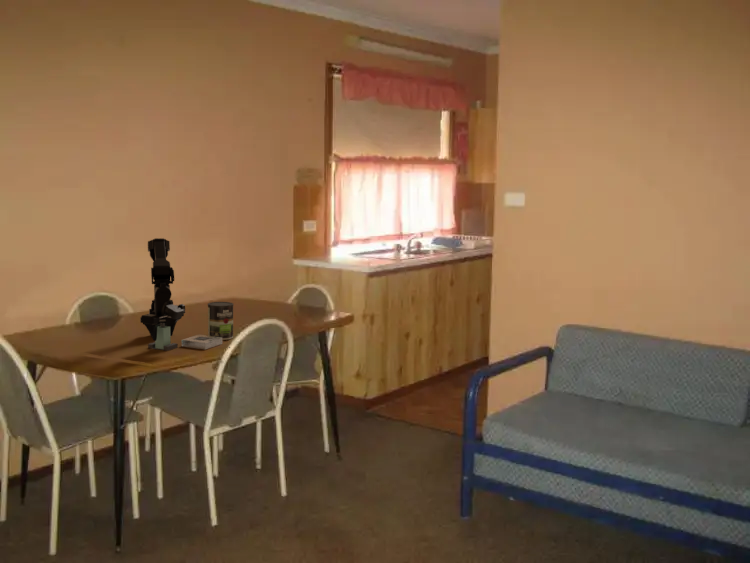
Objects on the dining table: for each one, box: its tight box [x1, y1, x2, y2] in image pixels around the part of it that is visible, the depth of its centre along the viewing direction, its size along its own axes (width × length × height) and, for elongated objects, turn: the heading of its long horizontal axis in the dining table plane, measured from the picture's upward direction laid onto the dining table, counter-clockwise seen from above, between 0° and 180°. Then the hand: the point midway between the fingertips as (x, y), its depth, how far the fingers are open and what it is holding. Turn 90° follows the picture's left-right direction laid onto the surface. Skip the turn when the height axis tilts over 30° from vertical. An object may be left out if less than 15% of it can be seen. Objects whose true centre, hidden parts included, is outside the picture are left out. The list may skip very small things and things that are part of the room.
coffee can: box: [207, 301, 234, 341], centre depth 332 cm, size 10×10×14 cm
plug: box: [154, 323, 172, 350], centre depth 308 cm, size 4×4×10 cm
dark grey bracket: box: [147, 341, 179, 352], centre depth 309 cm, size 9×6×2 cm, turn 66°
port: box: [181, 334, 223, 350], centre depth 315 cm, size 11×11×4 cm
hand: (162, 338), depth 309 cm, fingers open, 9 cm apart
